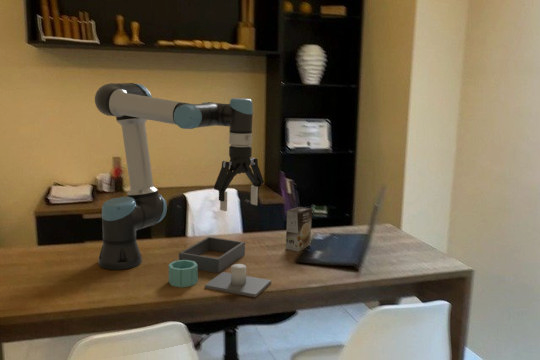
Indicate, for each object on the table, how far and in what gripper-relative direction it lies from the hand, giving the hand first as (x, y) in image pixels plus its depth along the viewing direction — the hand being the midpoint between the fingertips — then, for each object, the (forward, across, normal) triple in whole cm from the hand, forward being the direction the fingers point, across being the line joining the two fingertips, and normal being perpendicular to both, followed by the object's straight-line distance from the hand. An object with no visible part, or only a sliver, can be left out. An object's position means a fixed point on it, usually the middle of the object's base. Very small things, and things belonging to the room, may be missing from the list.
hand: (239, 207), depth 181 cm
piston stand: (+24, -6, -8) cm, 26 cm away
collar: (+24, -18, +6) cm, 31 cm away
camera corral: (+24, +2, +17) cm, 29 cm away
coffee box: (+24, +38, +6) cm, 45 cm away
